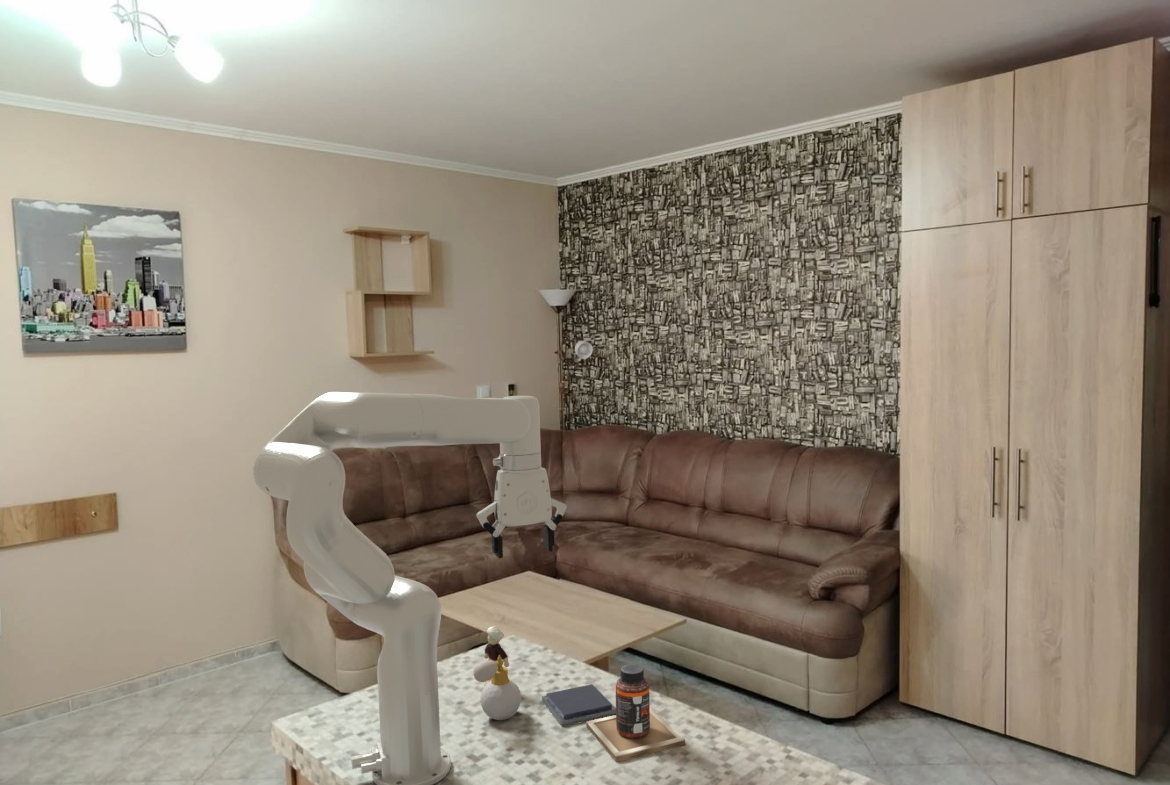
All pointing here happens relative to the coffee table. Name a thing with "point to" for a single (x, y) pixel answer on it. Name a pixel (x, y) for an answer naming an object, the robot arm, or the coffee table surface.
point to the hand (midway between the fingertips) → (523, 553)
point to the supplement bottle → (632, 702)
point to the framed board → (628, 748)
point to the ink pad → (578, 705)
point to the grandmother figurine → (495, 647)
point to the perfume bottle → (497, 690)
